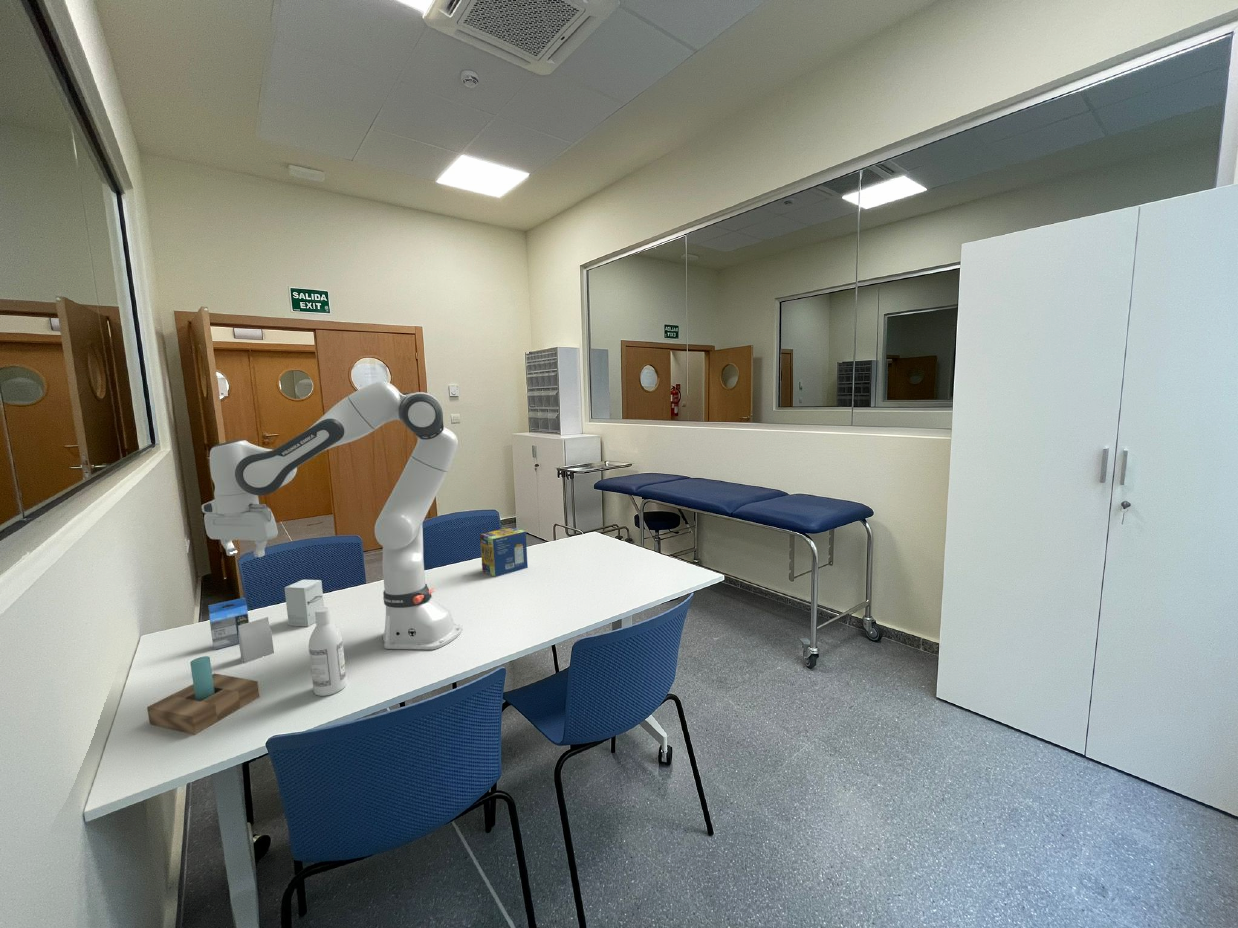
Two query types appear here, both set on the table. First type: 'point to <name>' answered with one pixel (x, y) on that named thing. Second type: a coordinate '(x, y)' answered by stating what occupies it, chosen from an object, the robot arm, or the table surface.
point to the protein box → (503, 551)
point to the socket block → (203, 704)
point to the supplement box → (303, 602)
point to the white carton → (255, 640)
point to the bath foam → (326, 656)
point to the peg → (202, 678)
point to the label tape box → (227, 622)
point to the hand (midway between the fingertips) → (245, 555)
